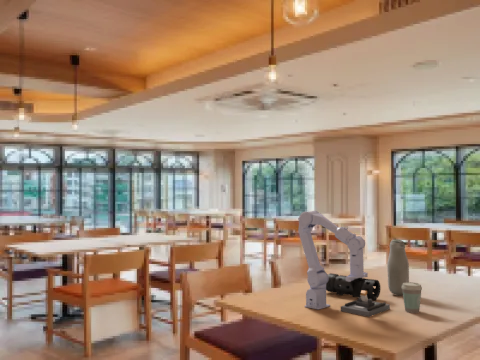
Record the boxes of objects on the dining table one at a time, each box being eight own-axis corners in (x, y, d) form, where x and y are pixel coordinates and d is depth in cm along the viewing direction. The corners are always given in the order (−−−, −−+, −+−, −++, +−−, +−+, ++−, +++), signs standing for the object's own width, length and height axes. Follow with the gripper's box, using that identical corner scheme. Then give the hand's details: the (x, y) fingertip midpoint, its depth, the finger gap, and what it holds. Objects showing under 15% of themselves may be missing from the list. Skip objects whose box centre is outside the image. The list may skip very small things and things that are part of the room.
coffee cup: (420, 315, 195) (420, 286, 195) (399, 312, 200) (399, 284, 200) (424, 310, 202) (423, 283, 203) (404, 307, 207) (403, 281, 207)
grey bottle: (412, 294, 233) (410, 239, 233) (404, 298, 225) (403, 241, 226) (393, 291, 239) (392, 238, 240) (384, 295, 232) (383, 239, 232)
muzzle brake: (372, 302, 217) (371, 280, 218) (321, 294, 236) (321, 274, 236) (381, 299, 225) (380, 277, 225) (331, 291, 243) (330, 271, 243)
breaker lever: (367, 301, 202) (364, 293, 201) (360, 300, 205) (358, 292, 203) (369, 299, 204) (366, 290, 202) (362, 298, 206) (360, 289, 205)
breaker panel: (368, 317, 193) (368, 304, 193) (340, 311, 203) (340, 299, 203) (389, 308, 205) (389, 297, 206) (362, 303, 215) (362, 292, 216)
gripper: (355, 267, 192) (356, 300, 192) (373, 263, 202) (374, 294, 202) (341, 265, 197) (341, 297, 197) (359, 261, 207) (359, 291, 207)
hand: (357, 295), depth 200 cm, fingers closed
